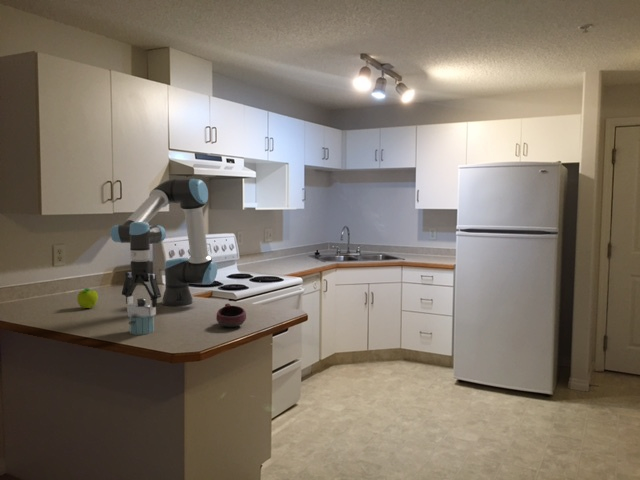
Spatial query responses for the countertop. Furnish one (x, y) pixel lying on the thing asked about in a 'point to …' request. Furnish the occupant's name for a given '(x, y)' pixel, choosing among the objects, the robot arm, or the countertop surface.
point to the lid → (139, 309)
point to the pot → (141, 325)
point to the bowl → (231, 316)
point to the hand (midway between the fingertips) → (141, 313)
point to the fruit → (87, 298)
